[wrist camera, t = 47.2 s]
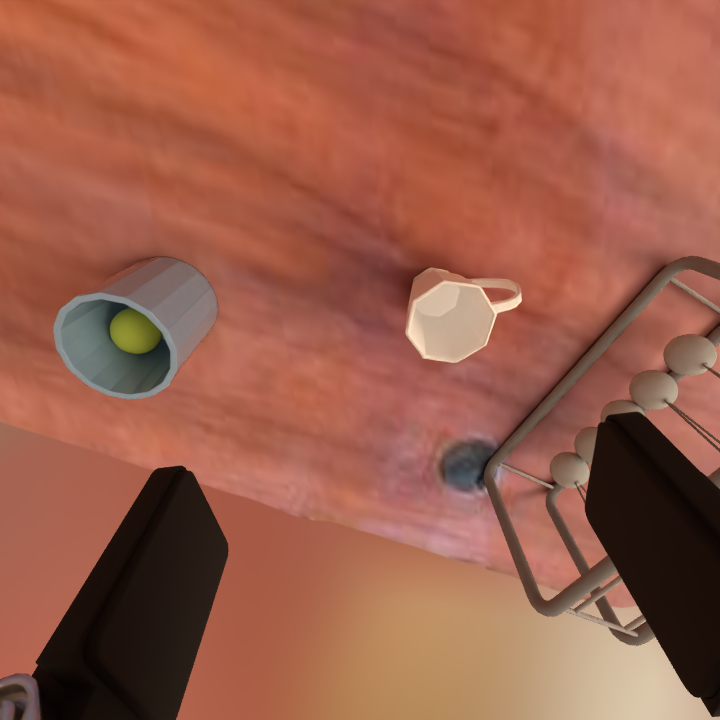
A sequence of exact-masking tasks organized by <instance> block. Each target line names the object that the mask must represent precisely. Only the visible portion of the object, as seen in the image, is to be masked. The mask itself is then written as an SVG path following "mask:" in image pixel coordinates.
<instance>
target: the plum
mask: <svg viewBox="0 0 720 720" xmlns="http://www.w3.org/2000/svg"><path fill="white" fill-rule="evenodd" d="M110 335H111V338H112V340H113V342H114V343H115V344H116V345H117V346H118V347H119V348H120V349H122V350H124V351H126V352H129V353H133V354H141V353H146V352H148V351H150V350H152V349H154V348H155V347H156V346H157V345H158V344H159V342H160V341H161V338H162V332H161V331H160V330H159V329H158V328H157V327H156V326H155V325H154V323H153V322H152V321H151V320H150V319H149V318H148V317H147V316H146V315H144V314H142V313H140V312H139V311H137V310H135V309H133V308H127V309H124V310H122V311H121V312H119V313H118V314H117V315H116V316H115V317H114V318H113V320H112V322H111V325H110Z"/></svg>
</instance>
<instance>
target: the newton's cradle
mask: <svg viewBox="0 0 720 720" xmlns="http://www.w3.org/2000/svg"><path fill="white" fill-rule="evenodd" d="M688 269H691V270H695V271H697V272H700V273H703V274H705V275H708V276H710V277H713V278H716V279H718V280H720V263H717V262H714V261H711V260H708V259H705V258H702V257H698V256H688V257H683V258H680V259H678V260H675V261H673V262H672V263H670V264H669V265H667V266H666V267H665V268H664V269H663V270H662V271H660V272H659V274H658V275H657V276H656V277H655V278H654V279H653V280H652V281H651V282H650V284H649V285H648V286H647V287H646V288H645V289H644V290H643V291H642V292H641V293H640V295H639V296H638V297H637V298H636V299H635V300H634V301H633V302H632V303H631V305H630V306H629V307H628V308H627V309H626V310H625V311H624V312H623V313H622V314H621V316H620V317H619V318H618V319H617V320H616V321H615V322H614V323H613V324H612V325H611V327H610V328H609V329H608V330H607V331H606V332H605V333H604V334H603V335H602V337H601V338H600V339H599V340H598V341H597V342H596V343H595V344H594V345H593V346H592V348H591V349H590V350H589V351H588V352H587V353H586V354H585V355H584V356H583V357H582V359H581V360H580V361H579V362H578V363H577V364H576V365H575V366H574V367H573V369H572V370H571V371H570V372H569V373H568V374H567V375H566V376H565V377H564V378H563V380H562V381H561V382H560V383H559V384H558V385H557V386H556V387H555V388H554V389H553V391H552V392H551V393H550V394H549V395H548V396H547V397H546V398H545V399H544V401H543V402H542V403H541V404H540V405H539V406H538V407H537V408H536V409H535V410H534V412H533V413H532V414H531V415H530V416H529V417H528V418H527V419H526V420H525V422H524V423H523V424H522V425H521V426H520V427H519V428H518V429H517V430H516V431H515V433H514V434H513V435H512V436H511V437H510V438H509V439H508V440H507V441H506V442H505V444H504V445H503V446H502V447H501V448H500V449H499V450H498V451H497V452H496V454H495V455H494V456H493V457H492V458H491V459H490V461H489V462H488V463H487V466H486V468H485V472H484V481H485V485H486V488H487V491H488V493H489V496H490V499H491V501H492V504H493V507H494V509H495V512H496V515H497V517H498V520H499V523H500V525H501V528H502V531H503V533H504V536H505V539H506V541H507V544H508V547H509V549H510V552H511V555H512V557H513V560H514V563H515V565H516V568H517V571H518V573H519V576H520V579H521V581H522V584H523V586H524V589H525V592H526V594H527V597H528V599H529V601H530V603H531V605H532V606H533V607H534V608H535V609H536V611H538V613H541V614H543V615H545V616H548V617H550V616H551V617H555V616H558V615H559V614H562V613H563V612H567V613H570V614H573V615H576V616H579V617H582V618H584V619H587V620H590V621H593V622H596V623H598V624H601V625H604V626H607V627H608V628H609V629H610V631H611V632H612V634H613V635H614V636H615V637H616V638H618V639H619V640H620V641H622V642H624V643H626V644H628V645H636V646H639V645H642V644H644V643H647V642H648V641H650V640H651V639H653V638H655V635H654V633H653V631H652V630H651V628H650V626H649V625H648V623H647V621H646V622H644V621H645V620H646V619H645V618H644V616H643V615H641V616H640V617H638V618H637V619H635V620H634V621H632V622H631V623H629V624H628V625H626V626H625V627H623V626H622V625H621V624H620V622H619V621H618V619H617V617H616V615H615V613H614V611H613V610H612V608H611V606H610V604H609V602H608V600H607V599H606V597H605V594H606V593H607V592H609V591H610V590H611V589H613V588H614V587H616V586H617V585H618V584H620V583H621V582H622V581H623V580H622V578H621V576H620V575H619V576H618V577H617V578H615V579H614V580H613V581H611V582H610V583H609V584H607V585H606V586H605V587H603V588H602V589H601V588H600V586H599V585H601V584H602V583H603V582H605V581H606V580H607V579H609V578H610V577H611V576H613V575H614V574H615V573H617V572H618V571H617V570H616V568H615V566H614V564H613V563H612V561H611V559H610V557H609V556H608V555H607V556H606V557H605V558H604V559H602V560H601V561H600V562H599V563H597V564H596V565H595V566H593V567H592V568H591V569H590V568H589V566H588V564H587V562H586V560H585V558H584V557H583V555H582V553H581V551H580V549H579V547H578V546H577V544H576V542H575V540H574V538H573V536H572V535H571V533H570V531H569V529H568V527H567V526H566V524H565V522H564V520H563V518H562V516H561V515H560V513H559V511H558V509H557V507H556V498H557V496H558V494H559V493H560V492H561V491H562V490H563V489H564V488H565V487H566V488H577V489H578V491H579V493H580V495H581V497H582V499H583V501H584V503H585V499H584V497H583V495H582V493H581V491H580V489H579V487H580V486H581V487H582V489H583V490H584V491H585V493H586V494H587V491H586V490H585V489H584V487H583V486H582V485H583V484H585V483H586V481H587V480H588V477H589V468H588V466H589V465H590V464H591V463H592V459H593V453H594V447H595V441H596V435H597V429H598V427H588V428H585V429H583V430H581V431H580V432H579V433H578V434H577V436H576V438H575V442H574V446H575V450H576V452H577V454H578V455H577V454H574V453H571V452H563V453H560V454H558V455H556V456H555V457H554V458H553V459H552V461H551V464H550V473H551V475H552V477H553V479H554V480H555V481H556V482H555V483H554V484H553V485H550V484H547V483H545V482H543V481H541V480H538V479H536V478H534V477H532V476H529V475H527V474H525V473H523V472H520V471H518V470H516V469H514V468H512V467H509V466H507V465H505V464H503V463H501V462H502V461H503V460H504V459H505V458H506V457H507V456H508V455H509V454H510V453H511V452H512V451H513V449H514V448H515V447H516V446H517V445H518V444H519V443H520V442H521V441H522V440H523V439H524V438H525V436H526V435H527V434H528V433H529V432H530V431H531V430H532V429H533V428H534V427H535V426H536V425H537V424H538V422H539V421H540V420H541V419H542V418H543V417H544V416H545V415H546V414H547V413H548V412H549V411H550V410H551V408H552V407H553V406H554V405H555V404H556V403H557V402H558V401H559V400H560V399H561V398H562V397H563V396H564V394H565V393H566V392H567V391H568V390H569V389H570V388H571V387H572V386H573V385H574V384H575V383H576V382H577V380H578V379H579V378H580V377H581V376H582V375H583V374H584V373H585V372H586V371H587V370H588V369H589V368H590V366H591V365H592V364H593V363H594V362H595V361H596V360H597V359H598V358H599V357H600V356H601V355H602V353H603V352H604V351H605V350H606V349H607V348H608V347H609V346H610V345H611V344H612V343H613V342H614V341H615V339H616V338H617V337H618V336H619V335H620V334H621V333H622V332H623V331H624V330H625V329H626V328H627V327H628V325H629V324H630V323H631V322H632V321H633V320H634V319H635V318H636V317H637V316H638V315H639V314H640V313H641V311H642V310H643V309H644V308H645V307H646V306H647V305H648V304H649V303H650V302H651V301H652V300H653V299H654V297H655V296H656V295H657V294H658V293H659V292H660V291H661V290H662V289H663V288H664V287H665V286H666V284H667V283H668V282H669V281H671V282H672V283H674V284H675V285H677V286H678V287H680V288H681V289H683V290H684V291H686V292H688V293H689V294H691V295H692V296H694V297H695V298H697V299H698V300H700V301H701V302H703V303H704V304H706V305H707V306H709V307H710V308H712V309H713V310H715V311H716V312H718V313H720V308H719V307H718V306H716V305H715V304H713V303H712V302H710V301H709V300H707V299H705V298H704V297H702V296H701V295H699V294H698V293H696V292H695V291H693V290H692V289H690V288H689V287H687V286H686V285H684V284H683V283H681V282H680V281H678V280H677V279H675V278H674V276H675V275H677V274H678V273H680V272H682V271H684V270H688ZM719 343H720V325H719V326H718V327H717V328H716V329H715V330H714V331H713V332H712V333H711V334H710V335H709V336H708V337H707V338H704V337H702V336H699V335H694V334H687V335H682V336H679V337H676V338H674V339H673V340H671V341H670V342H669V343H668V344H667V346H666V347H665V350H664V361H665V363H666V365H667V366H668V367H669V368H670V369H671V370H672V371H671V372H670V373H669V374H666V373H664V372H661V371H657V370H648V371H644V372H641V373H639V374H638V375H636V376H635V377H634V378H633V379H632V381H631V383H630V386H629V391H630V395H631V397H632V399H633V400H634V401H635V402H636V403H637V404H635V403H633V402H631V401H628V400H615V401H612V402H610V403H608V404H607V405H606V406H605V407H604V408H603V410H602V413H601V422H605V419H606V417H607V416H608V415H611V414H618V413H627V412H635V411H637V412H640V413H642V414H643V415H644V416H645V413H646V412H647V411H648V410H649V409H652V410H657V409H663V408H666V407H668V406H670V407H671V408H672V409H673V410H674V411H675V412H676V413H678V414H679V415H680V416H681V417H682V418H683V419H684V420H685V421H686V422H687V423H688V424H690V425H691V426H692V427H693V428H694V429H695V430H696V431H697V432H698V433H699V434H701V435H702V436H703V437H704V438H705V439H706V440H707V441H708V442H709V443H710V444H711V445H713V446H714V447H715V448H716V449H717V450H718V451H719V452H720V449H719V448H718V447H717V446H716V445H715V444H714V443H713V442H712V441H710V440H709V439H708V438H707V437H706V436H705V435H704V434H703V433H702V432H700V431H699V430H698V429H697V428H696V427H695V426H694V425H693V424H692V423H691V422H689V421H688V420H687V419H686V418H688V419H689V420H690V421H692V422H693V423H694V424H695V425H697V426H698V427H699V428H700V429H702V430H703V431H704V432H705V433H707V434H708V435H709V436H711V437H712V438H713V439H714V440H716V441H717V442H718V443H719V444H720V441H719V440H718V439H716V438H715V437H714V436H713V435H711V434H710V433H709V432H707V431H706V430H705V429H704V428H702V427H701V426H700V425H699V424H697V423H696V422H695V421H693V420H692V419H691V418H690V417H688V416H687V415H686V414H685V413H683V412H682V411H681V410H679V409H678V408H677V407H676V406H674V405H673V404H672V403H673V402H674V401H675V399H676V398H677V394H678V387H677V383H678V382H679V381H680V380H681V379H682V378H683V377H684V376H685V375H687V376H693V375H699V374H702V373H704V372H706V371H708V370H709V371H711V372H712V373H713V374H715V375H716V376H717V377H719V378H720V374H718V373H717V372H715V371H714V370H712V369H711V367H712V366H713V365H714V364H715V362H716V358H717V352H716V348H715V347H716V346H717V345H718V344H719ZM677 410H678V411H679V412H680V413H679V412H678V411H677ZM682 414H683V415H684V416H685V417H686V418H685V417H684V416H683V415H682ZM498 466H501V467H503V468H506V469H508V470H510V471H512V472H515V473H517V474H519V475H521V476H524V477H526V478H528V479H530V480H533V481H535V482H537V483H539V484H542V485H544V486H546V487H549V488H550V489H549V491H548V493H547V496H546V507H547V510H548V513H549V515H550V516H551V518H552V520H553V522H554V524H555V526H556V528H557V530H558V532H559V534H560V536H561V538H562V540H563V542H564V544H565V545H566V547H567V549H568V551H569V553H570V555H571V557H572V559H573V561H574V563H575V565H576V567H577V569H578V571H579V572H580V574H581V577H579V578H578V579H577V580H576V581H574V582H573V583H572V584H570V585H569V586H568V587H567V588H565V589H564V590H563V591H562V592H560V593H559V594H558V595H556V596H555V597H554V598H553V599H551V600H549V601H546V600H544V599H543V598H542V596H541V594H540V592H539V590H538V587H537V585H536V582H535V580H534V577H533V575H532V572H531V570H530V567H529V565H528V562H527V560H526V557H525V555H524V553H523V550H522V548H521V545H520V543H519V540H518V538H517V535H516V533H515V530H514V528H513V525H512V523H511V521H510V518H509V516H508V513H507V511H506V508H505V506H504V503H503V501H502V498H501V496H500V493H499V491H498V489H497V486H496V484H495V481H494V474H495V471H496V469H497V467H498ZM708 478H709V479H710V480H711V481H712V482H713V483H714V484H715V485H716V486H717V487H718V488H719V489H720V468H718V469H717V470H716V471H714V472H713V473H712V474H711V475H709V476H708ZM589 593H590V594H591V597H590V598H588V599H587V600H586V601H584V602H583V603H582V604H580V605H579V606H578V607H576V608H575V609H571V608H570V607H571V606H573V605H574V604H575V603H577V602H578V601H579V600H581V599H582V598H583V597H585V596H586V595H587V594H589ZM594 602H595V603H596V605H597V607H598V609H599V611H600V613H601V615H602V617H603V619H604V620H602V619H599V618H597V617H594V616H591V615H588V614H585V613H583V612H581V611H583V610H584V609H585V608H587V607H588V606H590V605H591V604H592V603H594ZM642 622H644V623H643V624H641V623H642ZM639 624H641V625H640V626H639V627H637V628H635V629H633V628H634V627H636V626H637V625H639ZM632 629H633V630H632Z"/></svg>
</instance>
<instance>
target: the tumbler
mask: <svg viewBox="0 0 720 720" xmlns="http://www.w3.org/2000/svg"><path fill="white" fill-rule="evenodd" d="M127 308H133V309H135V310H137V311H139V312H140V313H142V314H144V315H146V316H147V317H148V318H149V319H150V320H151V321H152V322H153V323H154V325H155V326H156V327H157V328H158V329H159V330H160V331H161V332H162V338H161V341H160V342H159V344H158V345H157V346H156V347H155V348H154V349H152V350H150V351H148V352H146V353H141V354H133V353H129V352H126V351H124V350H122V349H120V348H119V347H118V346H117V345H116V344H115V343H114V342H113V340H112V338H111V335H110V325H111V322H112V320H113V318H114V317H115V316H116V315H117V314H118V313H119V312H121V311H122V310H124V309H127ZM217 313H218V305H217V299H216V296H215V293H214V291H213V289H212V287H211V285H210V284H209V282H208V281H207V280H206V278H205V277H204V276H203V275H202V274H201V273H200V272H199V271H197V270H196V269H195V268H193V267H192V266H190V265H189V264H187V263H185V262H182V261H180V260H177V259H173V258H168V257H154V258H149V259H146V260H143V261H140V262H138V263H136V264H134V265H133V266H131V267H129V268H127V269H125V270H123V271H122V272H120V273H118V274H116V275H114V276H113V277H111V278H109V279H107V280H105V281H103V282H102V283H100V284H98V285H96V286H94V287H92V288H91V289H89V290H87V291H85V292H83V293H81V294H80V295H78V296H76V297H75V298H73V299H72V300H71V301H69V302H68V303H67V304H65V305H64V306H63V307H62V308H60V309H59V312H58V315H57V317H56V320H55V323H54V326H53V333H54V339H55V346H56V350H57V351H58V353H59V355H60V356H61V358H62V360H63V361H64V363H65V365H66V366H67V368H68V369H69V370H70V371H71V372H72V373H73V374H74V375H75V376H77V377H78V378H79V379H80V380H81V381H82V382H83V383H85V384H86V385H87V386H89V387H91V388H93V389H95V390H97V391H99V392H102V393H104V394H106V395H109V396H112V397H118V398H124V399H130V400H133V399H139V398H146V397H152V396H154V395H155V394H157V393H158V392H160V391H162V390H163V389H165V388H166V387H168V386H169V384H170V383H171V382H172V381H173V379H174V378H175V377H176V375H177V374H178V373H179V372H180V370H181V369H182V368H183V366H184V365H185V364H186V363H187V361H188V360H189V359H190V357H191V356H192V355H193V354H194V352H195V351H196V350H197V348H198V347H199V346H200V345H201V343H202V342H203V341H204V339H205V338H206V337H207V336H208V334H209V332H210V331H211V329H212V328H213V326H214V324H215V322H216V319H217Z"/></svg>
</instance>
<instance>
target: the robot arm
mask: <svg viewBox="0 0 720 720" xmlns="http://www.w3.org/2000/svg"><path fill="white" fill-rule="evenodd" d="M585 512H586V516H587V519H588V521H589V523H590V525H591V526H592V528H593V530H594V532H595V533H596V535H597V537H598V539H599V540H600V542H601V544H602V545H603V547H604V549H605V551H606V552H607V554H608V556H609V557H610V559H611V561H612V563H613V564H614V566H615V568H616V570H617V571H618V573H619V575H620V576H621V578H622V580H623V582H624V583H625V585H626V587H627V588H628V590H629V592H630V594H631V595H632V597H633V599H634V600H635V602H636V604H637V606H638V607H639V609H640V611H641V613H642V614H643V616H644V618H645V619H646V621H647V623H648V625H649V626H650V628H651V630H652V631H653V633H654V635H655V637H656V638H657V640H658V642H659V643H660V645H661V647H662V649H663V650H664V652H665V654H666V656H667V657H668V659H669V661H670V662H671V664H672V666H673V668H674V669H675V671H676V673H677V674H678V676H679V678H680V680H681V681H682V683H683V684H684V686H685V688H686V689H687V690H688V691H689V692H690V694H692V695H693V696H694V697H698V698H699V697H700V698H701V699H702V701H703V703H704V704H705V706H706V708H707V710H708V711H709V713H710V714H711V716H712V717H718V716H720V489H719V488H718V487H717V486H716V485H715V484H714V483H713V482H712V481H711V480H710V479H709V478H708V477H707V476H705V475H704V474H703V473H702V472H700V471H699V470H698V469H697V468H696V467H695V466H694V465H693V464H692V463H691V462H690V461H689V460H688V459H687V458H686V457H685V456H684V455H683V454H682V453H681V452H680V451H679V450H678V449H677V448H676V447H675V446H674V445H673V444H672V443H671V442H670V441H669V440H668V439H667V438H666V437H665V436H664V435H663V434H662V433H661V432H660V431H659V430H658V429H657V428H656V427H655V426H654V425H653V424H652V423H651V422H650V421H649V420H648V419H647V418H646V417H645V416H644V415H643V414H642V413H640V412H637V411H635V412H627V413H618V414H611V415H608V416H607V417H606V419H605V422H601V423H600V424H599V425H598V429H597V435H596V441H595V447H594V453H593V459H592V465H591V471H590V477H589V483H588V489H587V495H586V501H585ZM227 557H228V543H227V540H226V538H225V536H224V534H223V532H222V530H221V528H220V526H219V524H218V522H217V520H216V518H215V516H214V514H213V512H212V510H211V508H210V506H209V504H208V502H207V500H206V498H205V496H204V494H203V492H202V490H201V488H200V486H199V484H198V482H197V480H196V478H195V476H194V474H193V473H192V472H191V471H187V470H186V468H185V467H183V466H173V467H165V468H158V469H156V470H154V472H153V473H152V474H151V476H150V477H149V479H148V481H147V482H146V484H145V486H144V488H143V489H142V490H141V492H140V494H139V495H138V497H137V499H136V500H135V502H134V504H133V505H132V507H131V508H130V510H129V512H128V513H127V515H126V516H125V518H124V520H123V521H122V523H121V525H120V526H119V528H118V529H117V531H116V533H115V534H114V536H113V537H112V539H111V541H110V542H109V544H108V546H107V547H106V549H105V550H104V552H103V554H102V555H101V557H100V559H99V560H98V562H97V563H96V565H95V567H94V568H93V570H92V572H91V573H90V575H89V577H88V578H87V580H86V581H85V583H84V585H83V586H82V588H81V590H80V591H79V593H78V594H77V596H76V598H75V599H74V601H73V602H72V604H71V606H70V608H69V609H68V611H67V612H66V614H65V615H64V617H63V619H62V620H61V622H60V624H59V625H58V627H57V628H56V630H55V632H54V633H53V635H52V636H51V638H50V640H49V642H48V643H47V645H46V646H45V648H44V649H43V651H42V653H41V654H40V656H39V658H38V659H37V661H36V664H38V666H37V668H36V670H35V671H34V673H33V675H32V676H30V675H29V674H14V675H10V676H7V677H4V678H2V679H0V720H176V718H177V715H178V712H179V709H180V706H181V703H182V699H183V696H184V693H185V690H186V686H187V683H188V681H189V677H190V674H191V671H192V668H193V665H194V661H195V658H196V655H197V652H198V649H199V646H200V643H201V640H202V636H203V633H204V630H205V627H206V623H207V621H208V617H209V614H210V611H211V608H212V605H213V601H214V598H215V595H216V592H217V589H218V586H219V583H220V580H221V576H222V573H223V570H224V567H225V564H226V561H227Z"/></svg>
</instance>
